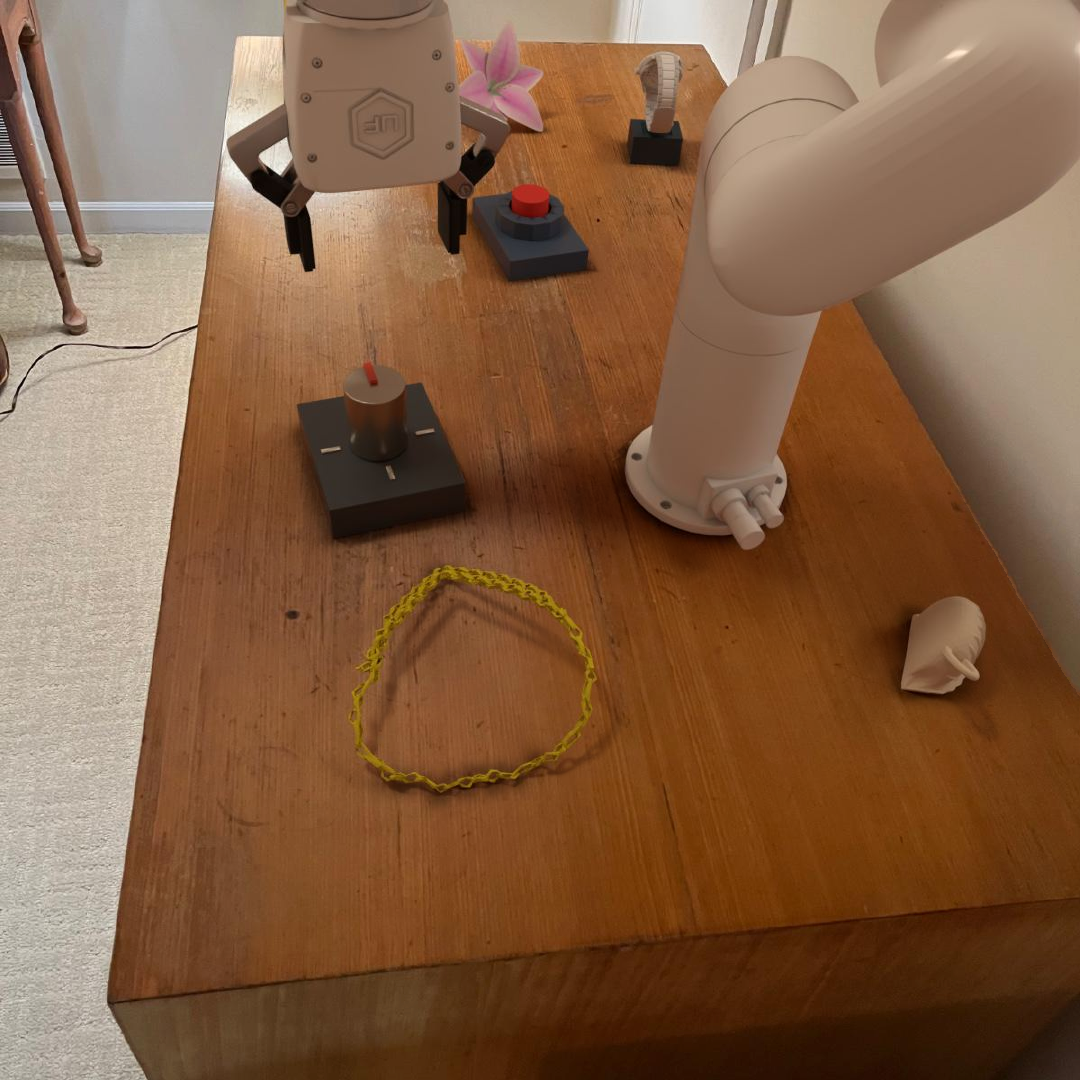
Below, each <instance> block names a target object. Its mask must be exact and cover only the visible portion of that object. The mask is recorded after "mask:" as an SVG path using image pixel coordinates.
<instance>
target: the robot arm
mask: <svg viewBox="0 0 1080 1080" xmlns="http://www.w3.org/2000/svg"><path fill="white" fill-rule="evenodd" d="M877 25H878V26H877V29H876V34H875V39H874V62H875V70H876V75H877V82H878V84H879V88H878V89H876V90H875V91H873V92H871V93H870V94H869V95H867V96H866V97H864V98H863V99H861V100H859V98H858V97H857V95H856V93H855V91H854V90H853V88H852V87H851V86H850V84H849V83H848V82H847V81H846V79H845V78H844V77H843V76H842V75H840V73H838V72H837V71H836V70H834V69H833V68H832V67H830V66H829V65H828V64H825V63H824V62H821V61H820V60H817V59H813V58H810V57H805V56H799V55H786V56H785V55H784V56H779V57H778V56H777V57H773V58H770V59H766V60H763V61H761V62H759V63H757V64H755V65H753V66H751V67H749V68H748V69H746V70H745V71H744V72H742V73H741V74H739V75H738V76H737V77H736V78H735V79H734V80H732V82H730V84H729V85H728V86H727V88H726V89H725V90H723V92H722V93H721V95H720V96H719V97H718V99H717V100H716V103H715V105H714V106H713V107H712V109H711V111H710V114H709V117H708V119H707V121H706V124H705V127H704V129H703V133H702V134H703V135H702V137H701V138H702V139H701V142H700V149H699V153H698V161H697V166H696V167H697V168H696V173H695V174H696V175H695V184H694V190H693V191H694V192H693V199H692V206H691V213H690V214H691V215H690V219H689V226H688V227H689V228H688V234H687V241H686V247H685V252H684V257H683V264H682V268H681V274H680V279H679V286H678V290H677V295H676V296H677V297H676V301H675V306H674V310H673V315H672V320H671V326H670V331H669V335H668V342H667V347H666V352H665V357H664V364H663V368H662V373H661V379H660V384H659V388H658V389H659V390H658V393H657V394H658V395H657V400H656V406H655V409H654V410H655V411H654V416H653V421H652V424H651V425H650V426H648V427H647V428H645V429H643V430H642V431H641V432H640V433H639V434H638V435H637V436H636V437H635V438H634V439H633V441H632V442H631V444H630V445H629V447H628V449H627V453H626V458H625V465H624V475H625V481H626V484H627V486H628V488H629V491H630V493H631V494H632V495H633V497H634V498H635V500H636V501H637V503H638V504H639V505H640V506H642V507H643V508H644V509H645V510H646V511H647V512H648V513H649V514H650V515H652V516H654V517H655V518H657V520H660V521H661V522H663V523H665V524H667V525H670V526H671V527H674V528H677V529H679V530H683V531H686V532H689V533H693V534H699V535H705V536H728V535H729V536H730V535H732V536H733V537H734V539H735V541H736V542H737V543H738V545H739V547H740V548H741V550H744V551H748V550H753V549H754V548H758V547H759V546H760V545H761V544H762V543H763V541H764V540H765V538H766V537H765V532H764V531H763V529H762V528H761V526H762V525H764V524H765V526H766V528H768V529H775V528H777V527H779V526H780V525H781V524H783V522H784V520H785V517H784V515H783V513H782V512H781V511H780V508H781V505H782V503H783V500H784V497H785V495H786V491H787V486H788V481H787V479H788V478H787V472H786V469H785V466H784V463H783V462H782V460H781V458H780V456H779V455H778V449H779V447H780V443H781V440H782V437H783V434H784V430H785V427H786V423H787V420H788V417H789V414H790V411H791V408H792V405H793V402H794V399H795V395H796V391H797V389H798V387H799V382H800V380H801V375H802V373H803V369H804V367H805V364H806V361H807V357H808V353H809V351H810V347H811V344H812V341H813V338H814V335H815V333H816V330H817V327H818V324H819V321H820V317H821V314H822V312H823V311H825V310H828V309H832V308H835V307H837V306H839V305H842V304H844V303H846V302H849V301H850V300H853V299H855V298H857V297H859V296H861V295H863V294H866V293H867V292H870V291H871V290H874V289H876V288H877V287H879V286H881V285H883V284H885V283H886V282H889V281H891V280H892V279H894V278H897V277H898V276H900V275H902V274H904V273H906V272H908V271H911V270H912V269H914V268H916V267H918V266H919V265H922V264H924V263H925V262H927V261H930V260H931V259H933V258H935V257H936V256H939V255H940V254H943V253H944V252H946V251H948V250H949V249H952V248H954V247H955V246H958V245H959V244H961V243H963V242H965V241H967V240H969V239H971V238H972V237H975V236H977V235H978V234H980V233H982V232H984V231H986V230H988V229H989V228H992V227H993V226H995V225H997V224H999V223H1000V222H1002V221H1005V220H1006V219H1008V218H1010V217H1011V216H1013V215H1014V214H1016V213H1018V212H1020V211H1021V210H1023V209H1025V208H1026V207H1028V206H1029V205H1031V204H1033V203H1034V202H1035V201H1037V200H1038V199H1039V198H1041V197H1042V196H1043V195H1044V194H1046V193H1047V192H1048V191H1050V190H1051V189H1052V188H1053V187H1054V186H1055V185H1056V184H1057V183H1058V182H1059V181H1060V180H1061V179H1062V178H1064V176H1066V175H1067V174H1068V173H1069V172H1070V170H1071V169H1072V168H1073V167H1074V166H1075V165H1076V164H1077V163H1078V161H1079V160H1080V0H890V1H889V3H888V4H887V6H886V8H885V9H884V11H883V13H882V15H881V17H880V19H879V23H878V24H877ZM281 52H282V53H281V54H282V55H281V56H282V57H281V58H282V59H281V60H282V63H281V64H282V90H283V91H282V92H283V103H282V104H281V105H279V106H277V107H276V108H274V109H273V110H271V111H269V112H268V113H266V114H265V115H263V116H262V117H260V118H258V119H257V120H255V121H253V122H252V123H250V124H248V125H247V126H245V127H243V128H242V129H240V130H239V131H237V132H236V133H234V134H232V135H230V136H229V137H228V138H227V139H226V141H225V142H226V143H225V144H226V148H227V152H228V155H229V157H230V158H231V160H232V162H233V163H234V164H235V166H236V167H237V168H238V170H239V171H240V172H241V173H242V175H243V176H244V177H245V178H246V179H247V181H248V182H249V183H250V185H251V188H252V189H253V191H255V192H257V194H259V195H260V196H262V197H263V198H264V199H266V200H267V201H269V202H270V203H271V204H273V205H274V206H276V207H277V208H278V209H280V211H281V213H282V215H283V222H284V230H285V238H286V245H287V249H288V253H289V255H290V256H292V255H299V258H300V261H301V265H302V268H303V271H304V273H311V272H314V270H316V257H315V247H314V238H313V230H312V229H313V228H312V219H311V216H310V213H309V210H308V207H307V203H308V202H309V201H310V200H311V199H312V197H313V195H315V194H316V193H318V194H319V193H320V194H339V193H350V192H361V191H362V192H363V191H373V190H382V189H392V188H401V187H411V186H412V187H413V186H420V185H428V184H437V234H438V235H439V237H440V239H441V242H442V243H443V246H444V248H445V250H446V252H447V253H448V254H450V255H451V256H452V255H459V254H460V252H461V251H460V247H461V236H465V235H467V232H468V231H467V230H468V228H467V227H468V223H467V222H468V199H470V198H471V197H472V196H473V195H474V193H475V186H476V185H477V184H478V183H480V181H481V180H482V179H483V178H484V177H485V176H486V175H487V174H488V173H489V172H490V171H491V170H492V169H493V168H494V166H495V164H496V157H497V155H498V154H500V152H501V150H502V148H503V146H504V145H505V142H506V141H507V139H508V137H509V135H510V133H511V125H510V124H509V122H508V120H507V121H506V119H505V118H504V116H503V115H501V114H499V113H497V112H495V111H493V110H490V109H488V108H486V107H484V106H482V105H480V104H477V103H475V102H473V101H471V100H469V99H466V98H464V97H462V96H460V95H459V85H460V84H459V71H458V64H457V63H458V61H457V54H456V53H457V51H456V44H455V38H454V30H453V23H452V18H451V14H450V9H449V5H448V4H447V2H446V1H445V0H286V5H285V13H283V28H282V51H281ZM462 126H465V127H467V128H470V129H471V130H474V131H476V132H478V133H479V134H478V135H477V140H476V142H474V143H473V144H472V145H471V146H470V147H469V148H468V149H467V150H466V151H465V152H464V153H463V155H462V152H463V147H462V146H463V139H462V138H463V137H462V136H463V135H462V134H463V133H462ZM284 139H286V140H287V144H288V150H289V151H290V153H291V157H292V158H291V160H290V161H289V163H288V164H287V165H286V166H285V168H284V169H283V171H282V172H281V174H279V173H277V171H275V170H274V169H272V168H271V167H269V166H268V165H267V164H265V162H263V160H262V159H261V157H260V155H261V154H263V152H265V151H267V150H268V149H270V148H271V147H273V146H275V145H277V144H278V143H279V142H281V141H283V140H284Z"/></svg>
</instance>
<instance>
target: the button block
mask: <svg viewBox="0 0 1080 1080" xmlns="http://www.w3.org/2000/svg"><path fill="white" fill-rule="evenodd" d="M545 189H546V190H548V189H547V188H545ZM512 191H513V190H511V191H509V192H505V193H498V194H492V195H484V196H483V195H482V196H475V197H472V198H471V199H472V200H471V201H472V203H471V213H472V214H471V217H472V218H471V219H472V220H473V221H474V223H475V224H476V226H477V228H478V230H479V231H480V233H481V235H482V237H483V239H484V240H485V242H486V243H487V245H488V247H489V248H490V250H491V252H492V254H493V255H494V257H495V259H496V260H497V262H498V264H499V265H500V268H501V269H502V271H503V272H504V274H505V275H506V278H507V279H508V281H509V282H512V281H519V280H526V279H532V278H539V277H545V276H552V275H560V274H565V273H572V272H579V271H586V270H588V262H589V252H590V249H589V248H588V246H587V245H586V243H585V242H584V240H583V239H582V238H581V236H580V235H579V234H578V232H577V231H576V229H575V228H574V226H573V225H572V224H571V222H570V221H569V219H568V218H567V216H566V215H565V206H564V204H563V203H562V202H561V200H560V199H559V198H558V197H557V196H555V195H552V194H551V193H550V192H549V209H548V213H547V215H545V216H543V217H536V218H528V217H521V216H519V215H517V214H515V213H513V212H512Z"/></svg>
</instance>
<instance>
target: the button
mask: <svg viewBox="0 0 1080 1080" xmlns="http://www.w3.org/2000/svg"><path fill="white" fill-rule="evenodd" d="M546 189H547V188H545V187H544V186H541V185H538V184H533V183H531V184H530V183H524V184H520V185H518V186H516V187H514V188H513V190H511V191H512V212H513V213H515V214H517V215H519V216H521V217H528V218H536V217H543V216H545V215H547V213H548V209H549V193H550V191H549V190H548V189H547V190H546Z"/></svg>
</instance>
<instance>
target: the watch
mask: <svg viewBox="0 0 1080 1080" xmlns="http://www.w3.org/2000/svg"><path fill="white" fill-rule="evenodd" d="M684 65H685V64H684V61H683V58H681V56H680V55H678V54H676V53H673V52H670V51H657V52H653V53H650V54H648V55H646V56H645V57H644V58H643V59H641V61H640V63H639V65H638V66H636V67H635V70H634V73H635V76H638V75H639V80H640V83H641V88H642V89H641V90H642V93H643V94H645V102H644V103H645V106H644V107H645V108H644V109H645V111H644V112H645V117H644V118H645V119H641V118H630V119H629V127H628V134H627V140H626V141H627V142H626V148H627V154H628V159H629V163H630V165H632V164H633V165H654V166H676V167H679V166H680V160H681V155H682V148H683V143H684V137H683V133H682V128H681V125H680V122H679V120H675V116H676V112H677V107H676V103H677V99H678V89H679V83H680V82H681V80H682V79H683V76H684V67H685V66H684Z"/></svg>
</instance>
